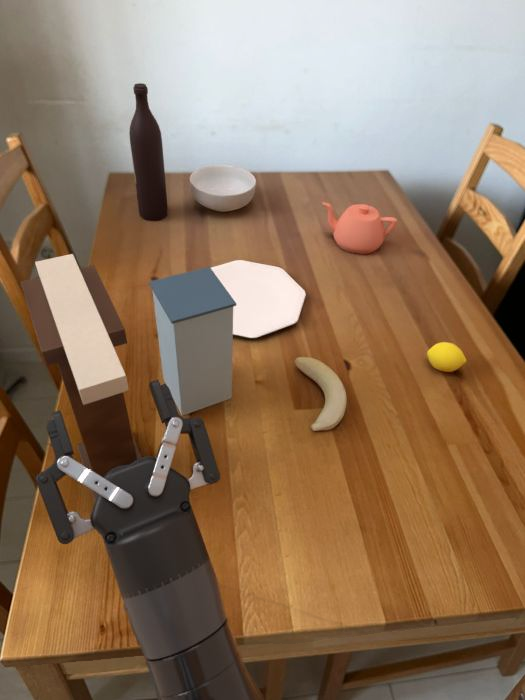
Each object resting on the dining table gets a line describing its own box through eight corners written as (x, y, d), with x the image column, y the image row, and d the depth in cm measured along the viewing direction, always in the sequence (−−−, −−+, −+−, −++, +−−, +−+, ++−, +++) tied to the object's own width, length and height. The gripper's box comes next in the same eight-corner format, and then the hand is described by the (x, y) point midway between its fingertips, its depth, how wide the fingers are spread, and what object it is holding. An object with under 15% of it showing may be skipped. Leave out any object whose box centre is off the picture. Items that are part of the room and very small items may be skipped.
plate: (220, 355, 94) (220, 350, 93) (169, 285, 108) (168, 279, 107) (325, 317, 103) (326, 311, 102) (265, 256, 117) (265, 251, 116)
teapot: (389, 261, 119) (399, 225, 112) (313, 248, 121) (318, 212, 114) (391, 234, 127) (401, 199, 121) (320, 222, 129) (325, 187, 123)
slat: (83, 405, 44) (78, 390, 43) (39, 276, 56) (34, 261, 55) (129, 390, 46) (126, 375, 44) (76, 268, 58) (72, 253, 56)
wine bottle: (161, 204, 132) (149, 78, 111) (172, 217, 128) (162, 88, 107) (135, 210, 129) (117, 82, 108) (146, 223, 125) (130, 93, 104)
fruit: (331, 363, 94) (334, 350, 92) (354, 429, 84) (357, 416, 81) (293, 366, 93) (294, 353, 91) (311, 433, 83) (313, 420, 80)
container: (180, 417, 84) (171, 321, 69) (161, 378, 89) (148, 281, 75) (234, 398, 87) (236, 303, 72) (211, 361, 93) (209, 266, 78)
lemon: (421, 372, 94) (430, 351, 90) (423, 353, 98) (431, 332, 94) (461, 382, 93) (471, 361, 89) (461, 361, 96) (471, 341, 93)
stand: (99, 515, 71) (41, 352, 48) (78, 449, 78) (20, 281, 56) (154, 493, 74) (124, 329, 51) (130, 431, 81) (94, 264, 59)
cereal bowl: (261, 218, 129) (263, 192, 124) (195, 223, 126) (194, 197, 121) (247, 186, 141) (248, 162, 136) (186, 190, 138) (185, 165, 133)
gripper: (257, 545, 41) (188, 361, 44) (77, 631, 36) (12, 416, 39) (235, 541, 48) (177, 381, 51) (82, 612, 43) (27, 430, 46)
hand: (106, 397), depth 45 cm, fingers open, 8 cm apart
